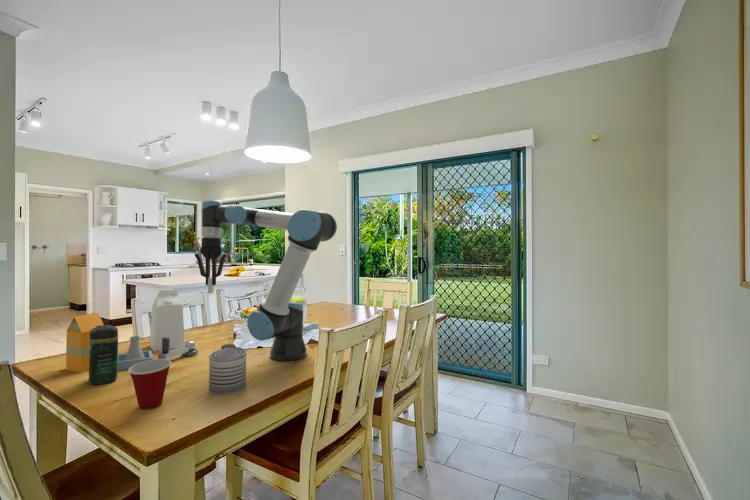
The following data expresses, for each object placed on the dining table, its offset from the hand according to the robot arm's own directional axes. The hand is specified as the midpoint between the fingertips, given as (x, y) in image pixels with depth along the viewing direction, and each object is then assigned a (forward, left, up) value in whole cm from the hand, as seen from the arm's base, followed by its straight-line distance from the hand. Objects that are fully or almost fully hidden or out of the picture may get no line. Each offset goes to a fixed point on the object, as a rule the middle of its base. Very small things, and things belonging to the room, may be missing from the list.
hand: (210, 292), depth 157 cm
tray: (+2, +27, -26) cm, 38 cm away
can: (-42, +2, -27) cm, 50 cm away
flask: (+2, +27, -26) cm, 37 cm away
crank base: (+5, +7, -26) cm, 28 cm away
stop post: (0, +18, -26) cm, 32 cm away
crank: (+2, +12, -25) cm, 27 cm away
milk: (+24, +14, -27) cm, 38 cm away
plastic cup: (-44, +24, -27) cm, 57 cm away
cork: (-29, -1, -27) cm, 39 cm away
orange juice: (+6, +42, -27) cm, 50 cm away
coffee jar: (-13, +36, -27) cm, 47 cm away
